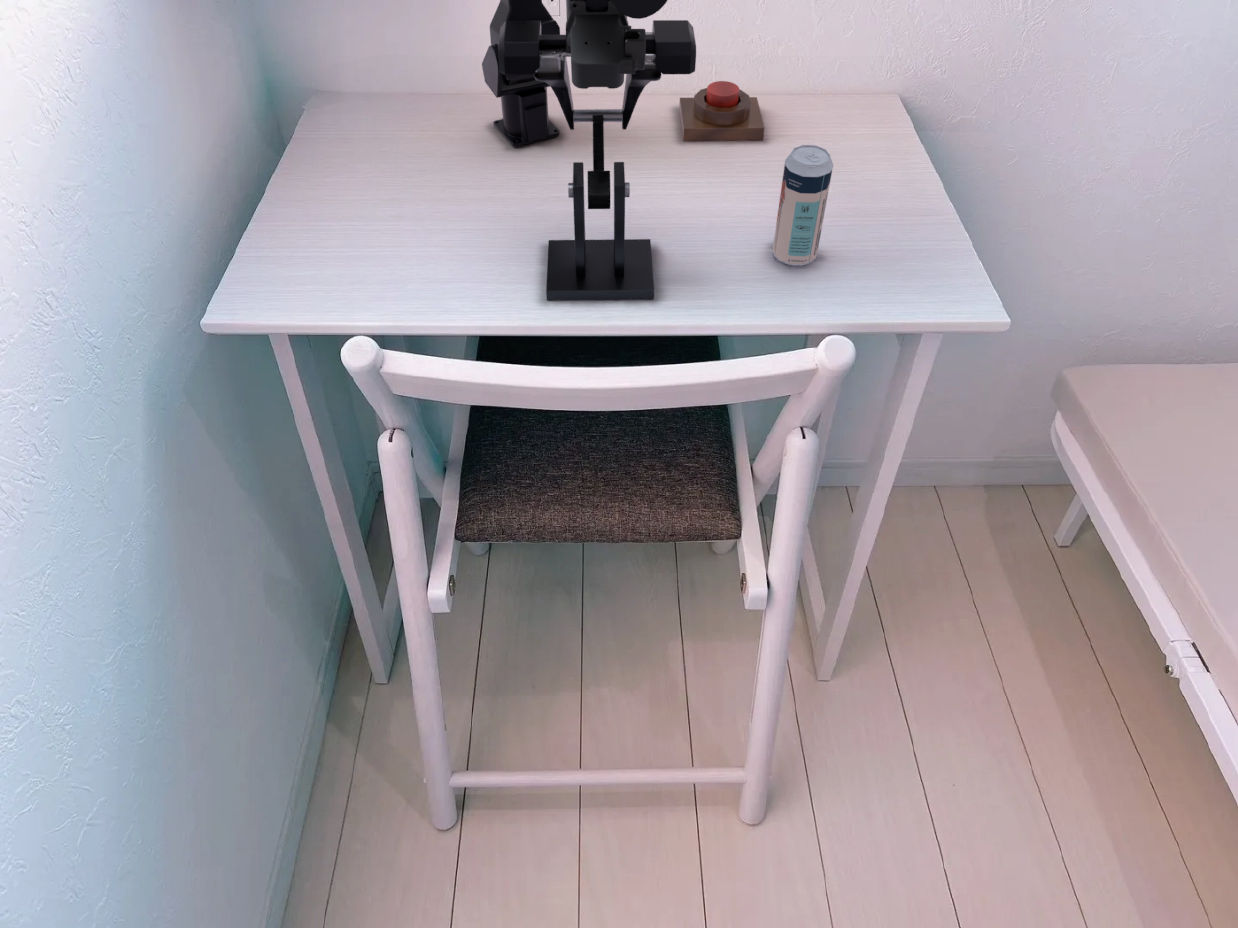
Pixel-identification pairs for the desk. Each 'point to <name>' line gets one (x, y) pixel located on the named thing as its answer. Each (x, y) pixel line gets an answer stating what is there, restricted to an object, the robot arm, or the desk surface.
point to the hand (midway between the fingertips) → (597, 127)
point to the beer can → (802, 204)
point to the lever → (598, 154)
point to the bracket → (599, 254)
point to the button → (722, 94)
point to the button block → (720, 119)
